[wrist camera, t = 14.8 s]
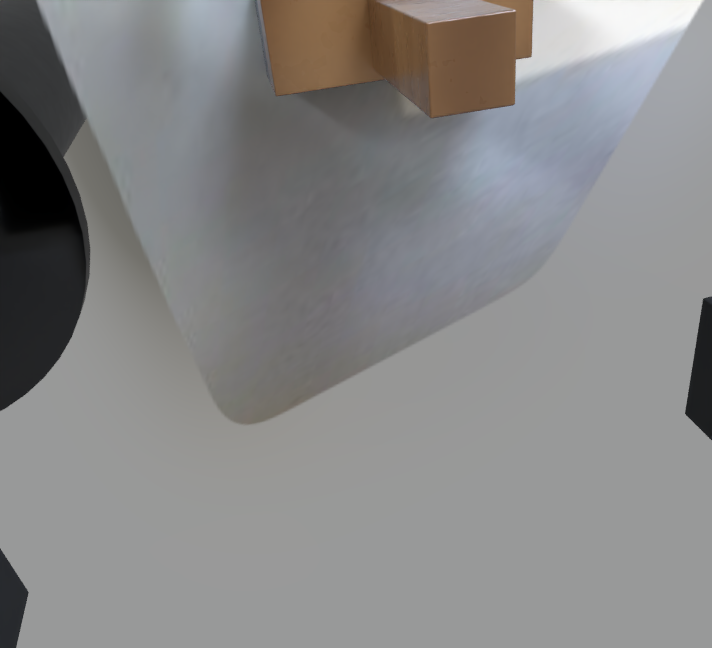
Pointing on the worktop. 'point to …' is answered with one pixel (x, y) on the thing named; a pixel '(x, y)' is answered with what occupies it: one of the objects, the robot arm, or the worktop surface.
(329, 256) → the worktop surface
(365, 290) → the worktop surface
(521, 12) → the wooden t-shaped block
